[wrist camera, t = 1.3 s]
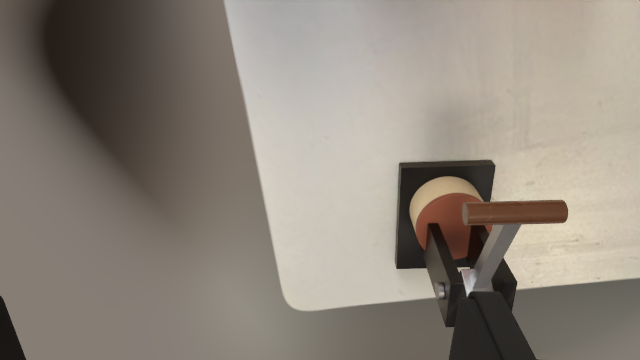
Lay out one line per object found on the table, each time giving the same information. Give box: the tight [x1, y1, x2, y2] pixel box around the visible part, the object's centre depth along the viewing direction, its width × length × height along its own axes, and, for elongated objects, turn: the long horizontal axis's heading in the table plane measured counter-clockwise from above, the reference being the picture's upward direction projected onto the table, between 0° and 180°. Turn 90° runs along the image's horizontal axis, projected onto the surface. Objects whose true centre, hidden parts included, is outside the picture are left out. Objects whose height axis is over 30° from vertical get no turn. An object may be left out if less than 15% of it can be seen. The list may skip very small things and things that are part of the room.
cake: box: [409, 176, 493, 259], centre depth 44 cm, size 7×7×4 cm
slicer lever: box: [459, 200, 568, 298], centre depth 33 cm, size 13×6×2 cm, turn 2°
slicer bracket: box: [395, 160, 517, 327], centre depth 42 cm, size 12×9×14 cm
